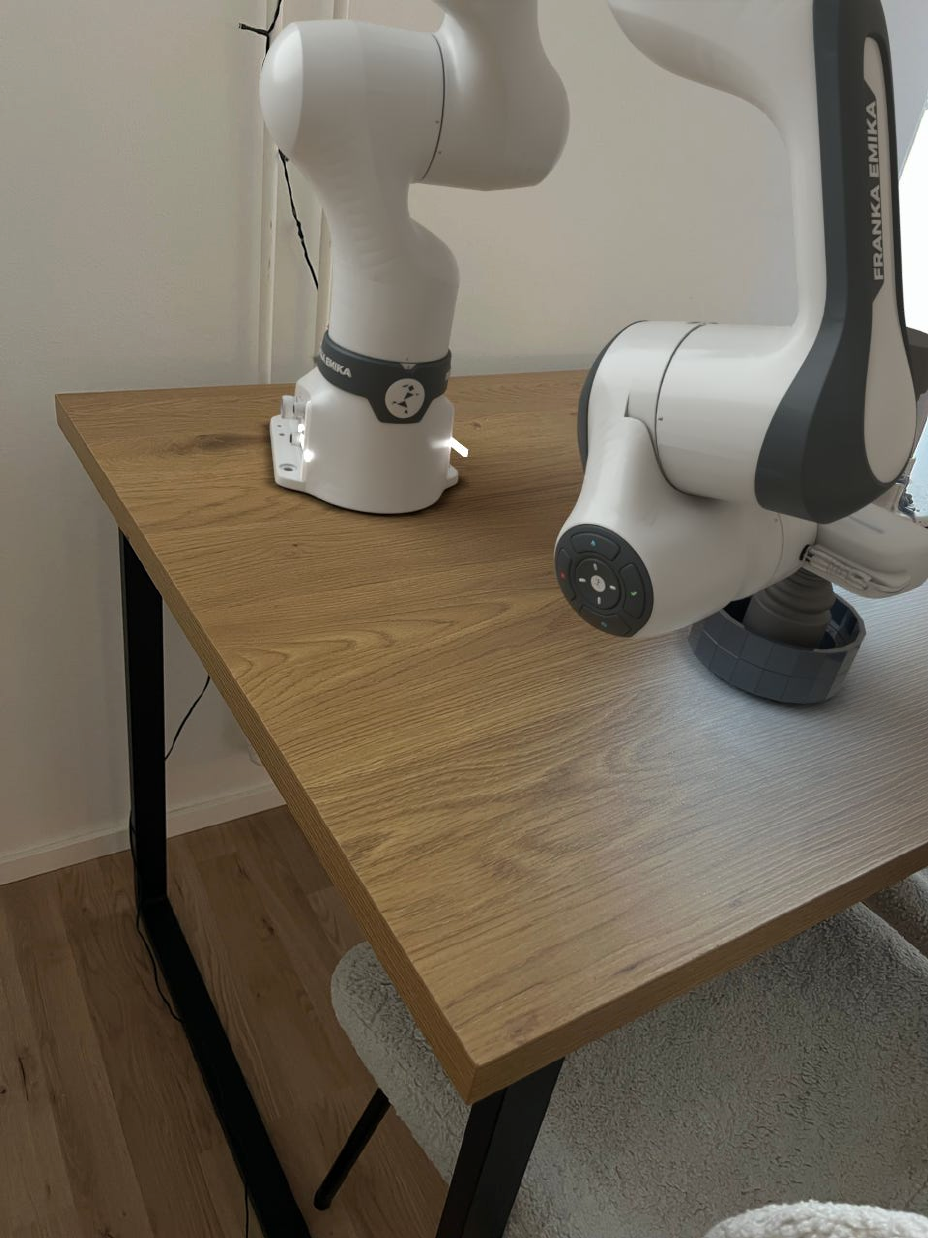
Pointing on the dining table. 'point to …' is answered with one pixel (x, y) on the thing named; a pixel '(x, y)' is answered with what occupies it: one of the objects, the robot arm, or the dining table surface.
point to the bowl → (778, 654)
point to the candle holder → (804, 597)
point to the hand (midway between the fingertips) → (838, 486)
